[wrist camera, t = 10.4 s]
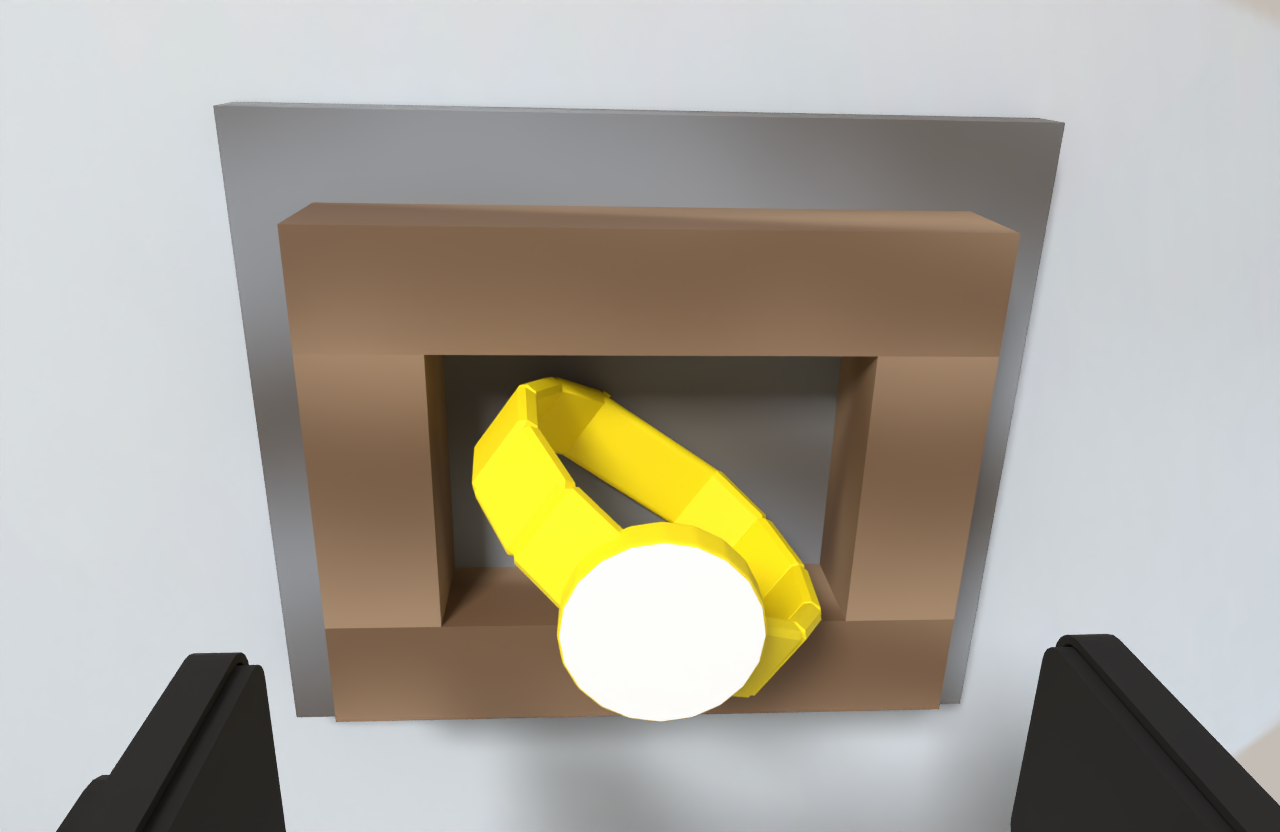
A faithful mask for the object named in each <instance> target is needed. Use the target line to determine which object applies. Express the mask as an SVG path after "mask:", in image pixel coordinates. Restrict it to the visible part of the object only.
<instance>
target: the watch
mask: <svg viewBox="0 0 1280 832" xmlns="http://www.w3.org/2000/svg"><path fill="white" fill-rule="evenodd" d="M610 397H611V395H609V394H608V393H607V392H605V391H603V392H601V391H600V390H597V389H594V388H591V387H587V386H584V385H581V384H578V383H575V382H571V381H568V380H565V379H562V378H558V377H557V378H554V377H546V378H542V379H539V380H536V381H532V382H529V383H525V384H522V385H519V387H518V388H517V389H516V391H515V392H514V393H513V395H512V396H511V398H510V399H509V400H508V402H507V403H506V404H505V406H504V407H503V409H502V410H501V411H500V413H499V414H498V415H497V417H496V418H495V419H494V421H493V422H492V424H491V425H490V426H489V428H488V429H487V430H486V432H485V433H484V434H483V436H482V437H481V439H480V440H479V441H478V443H477V444H476V445H475V447H474V460H473V475H472V485H473V489H474V491H475V496H476V499H477V501H478V503H479V504H480V506H481V508H482V510H483V511H484V513H485V515H486V517H487V519H488V520H489V522H490V524H491V526H492V528H493V529H494V531H495V533H496V535H497V537H498V538H499V540H500V542H501V544H502V546H503V547H504V549H505V551H506V553H507V555H511V556H514V564H515V565H516V566H517V567H518V568H519V569H520V570H521V571H522V572H523V573H524V574H525V575H526V576H527V577H528V578H529V579H530V580H531V581H532V582H533V583H534V584H535V585H536V586H537V587H538V588H539V589H540V590H541V591H542V592H543V593H544V594H545V595H546V596H547V597H548V598H549V599H550V600H551V601H552V602H553V603H554V604H555V605H556V606H557V607H558V608H559V615H558V627H557V640H558V644H559V649H560V654H561V659H562V662H563V664H564V666H565V668H566V669H567V671H568V673H569V674H570V676H571V677H572V679H573V681H574V682H575V684H576V685H577V687H578V688H579V689H580V690H581V691H582V692H584V693H585V694H586V695H587V696H589V697H590V698H591V699H592V700H594V701H595V702H596V703H597V704H599V705H600V706H601V707H603V708H606V709H608V710H611V711H613V712H615V713H618V714H620V715H623V716H625V717H628V718H632V719H640V720H649V721H658V722H663V721H670V720H677V719H684V718H690V717H694V716H696V715H699V714H701V713H703V712H706V711H708V710H710V709H713V708H715V707H717V706H719V705H721V704H723V703H724V702H725V701H726V700H728V699H729V698H730V697H731V696H736V697H748V698H749V697H750V695H752V696H755V695H756V693H757V692H758V691H759V690H760V689H761V688H762V687H763V686H764V685H765V684H766V683H767V682H768V680H769V679H770V678H771V677H772V676H773V675H774V674H775V673H776V672H777V671H778V670H779V668H780V667H781V666H782V665H783V664H784V663H785V662H786V661H787V660H788V659H789V658H790V657H791V655H792V654H793V653H794V652H795V651H796V650H797V649H798V648H799V647H800V646H801V645H802V644H803V642H804V641H805V640H806V639H807V638H808V636H809V635H810V634H811V633H812V631H813V630H814V629H815V627H816V626H817V625H818V623H819V622H820V621H821V607H820V604H819V601H818V599H817V596H816V593H815V590H814V587H813V584H812V582H811V579H810V576H809V573H808V571H807V570H806V569H804V564H803V563H802V561H801V560H800V559H799V557H798V556H797V555H796V553H795V552H794V551H793V549H792V548H791V547H790V545H789V544H788V543H787V541H786V540H785V539H784V537H783V536H782V535H781V533H780V532H779V531H778V529H777V528H776V527H775V525H774V524H773V523H772V521H770V520H768V519H766V515H765V514H764V513H763V512H762V511H761V510H760V509H759V508H758V507H757V506H756V505H755V504H754V503H753V502H752V501H751V500H750V499H749V498H748V497H747V496H746V495H745V494H744V493H743V492H742V491H741V490H740V489H739V488H738V487H737V486H736V485H735V484H734V483H733V482H732V481H731V480H730V479H729V478H728V477H727V476H726V475H725V474H724V473H723V472H721V471H719V470H717V469H716V468H714V467H713V466H711V465H710V464H708V463H707V462H705V461H704V460H702V459H701V458H699V457H698V456H696V455H695V454H693V453H692V452H690V451H689V450H687V449H685V448H684V447H682V446H681V445H679V444H678V443H676V442H675V441H673V440H672V439H670V438H669V437H667V436H666V435H664V434H663V433H661V432H660V431H658V430H657V429H655V428H654V427H652V426H651V425H649V424H648V423H646V422H645V421H643V420H642V419H640V418H639V417H637V416H636V415H634V414H633V413H631V412H630V411H628V410H627V409H625V408H624V407H622V406H621V405H619V404H618V403H616V402H615V401H613V400H612V399H610ZM555 453H556V454H561V455H564V456H565V457H567V458H568V459H570V460H572V461H573V462H575V463H576V464H578V465H579V466H581V467H583V468H584V469H586V470H587V471H589V472H591V473H592V474H594V475H595V476H597V477H598V478H600V479H602V480H603V481H605V482H606V483H608V484H610V485H611V486H613V487H614V488H616V489H617V490H619V491H621V492H622V493H624V494H625V495H627V496H628V497H630V498H632V499H633V500H635V501H636V502H638V503H640V504H641V505H643V506H644V507H646V508H647V509H649V510H651V511H652V512H654V513H655V514H657V515H659V516H660V517H662V518H663V519H665V520H666V521H668V522H656V523H649V524H642V525H635V526H630V527H627V528H625V529H622V528H621V527H620V526H619V525H618V524H617V523H616V522H615V521H614V520H613V519H612V518H611V517H610V516H609V515H608V514H607V513H605V512H604V511H603V510H602V509H601V508H600V507H599V506H598V505H597V504H596V503H595V502H594V501H593V500H592V499H591V498H590V497H589V496H588V495H587V494H586V493H585V492H583V491H582V490H581V489H580V488H579V487H576V485H575V482H574V480H573V479H572V477H571V476H570V474H569V473H568V471H567V470H566V468H565V467H564V465H563V464H562V462H561V461H560V459H559V458H558V456H557V455H556V454H555ZM669 522H670V523H669Z"/></svg>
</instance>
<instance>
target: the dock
mask: <svg viewBox="0 0 1280 832" xmlns="http://www.w3.org/2000/svg"><path fill="white" fill-rule="evenodd" d="M213 107H214V115H215V122H216V129H217V136H218V144H219V151H220V158H221V166H222V173H223V180H224V188H225V195H226V202H227V210H228V217H229V224H230V232H231V239H232V246H233V254H234V261H235V268H236V276H237V283H238V290H239V298H240V305H241V312H242V320H243V327H244V334H245V342H246V349H247V356H248V364H249V371H250V378H251V386H252V393H253V400H254V408H255V415H256V422H257V429H258V437H259V444H260V451H261V459H262V466H263V473H264V481H265V488H266V495H267V503H268V510H269V517H270V525H271V532H272V539H273V547H274V554H275V561H276V569H277V576H278V583H279V591H280V598H281V605H282V613H283V620H284V627H285V635H286V642H287V649H288V657H289V664H290V671H291V679H292V686H293V693H294V701H295V708H296V715H297V717H328V716H335V719H336V722H349V721H396V720H444V719H491V718H539V717H587V716H623V715H620V714H618V713H615V712H613V711H611V710H608V709H606V708H603V707H601V706H600V705H599V704H597V703H596V702H595V701H594V700H592V699H591V698H590V697H589V696H587V695H586V694H585V693H584V692H582V691H581V690H580V689H579V688H578V687H577V685H576V684H575V682H574V681H573V679H572V677H571V676H570V674H569V673H568V671H567V669H566V668H565V666H564V664H563V662H562V659H561V654H560V649H559V644H558V640H557V627H558V615H559V608H558V607H557V606H556V605H555V604H554V603H553V602H552V601H551V600H550V599H549V598H548V597H547V596H546V595H545V594H544V593H543V592H542V591H541V590H540V589H539V588H538V587H537V586H536V585H535V584H534V583H533V582H532V581H531V580H530V579H529V578H528V577H527V576H526V575H525V574H524V573H523V572H522V571H521V570H520V569H519V568H518V567H517V566H516V565H515V564H514V556H511V555H507V553H506V551H505V549H504V547H503V546H502V544H501V542H500V540H499V538H498V537H497V535H496V533H495V531H494V529H493V528H492V526H491V524H490V522H489V520H488V519H487V517H486V515H485V513H484V511H483V510H482V508H481V506H480V504H479V503H478V501H477V499H476V496H475V491H474V489H473V485H472V475H473V460H474V447H475V445H476V444H477V443H478V441H479V440H480V439H481V437H482V436H483V434H484V433H485V432H486V430H487V429H488V428H489V426H490V425H491V424H492V422H493V421H494V419H495V418H496V417H497V415H498V414H499V413H500V411H501V410H502V409H503V407H504V406H505V404H506V403H507V402H508V400H509V399H510V398H511V396H512V395H513V393H514V392H515V391H516V389H517V388H518V387H519V385H522V384H525V383H529V382H532V381H536V380H539V379H542V378H546V377H554V378H557V377H558V378H562V379H565V380H568V381H571V382H575V383H578V384H581V385H584V386H587V387H591V388H594V389H597V390H600V391H601V392H603V391H605V392H607V393H608V394H609V395H611V397H610V399H612V400H613V401H615V402H616V403H618V404H619V405H621V406H622V407H624V408H625V409H627V410H628V411H630V412H631V413H633V414H634V415H636V416H637V417H639V418H640V419H642V420H643V421H645V422H646V423H648V424H649V425H651V426H652V427H654V428H655V429H657V430H658V431H660V432H661V433H663V434H664V435H666V436H667V437H669V438H670V439H672V440H673V441H675V442H676V443H678V444H679V445H681V446H682V447H684V448H685V449H687V450H689V451H690V452H692V453H693V454H695V455H696V456H698V457H699V458H701V459H702V460H704V461H705V462H707V463H708V464H710V465H711V466H713V467H714V468H716V469H717V470H719V471H721V472H723V473H724V474H725V475H726V476H727V477H728V478H729V479H730V480H731V481H732V482H733V483H734V484H735V485H736V486H737V487H738V488H739V489H740V490H741V491H742V492H743V493H744V494H745V495H746V496H747V497H748V498H749V499H750V500H751V501H752V502H753V503H754V504H755V505H756V506H757V507H758V508H759V509H760V510H761V511H762V512H763V513H764V514H765V515H766V519H768V520H770V521H772V523H773V524H774V525H775V527H776V528H777V529H778V531H779V532H780V533H781V535H782V536H783V537H784V539H785V540H786V541H787V543H788V544H789V545H790V547H791V548H792V549H793V551H794V552H795V553H796V555H797V556H798V557H799V559H800V560H801V561H802V563H803V564H804V569H806V570H807V571H808V573H809V576H810V579H811V582H812V584H813V587H814V590H815V593H816V596H817V599H818V601H819V604H820V607H821V621H820V622H819V623H818V625H817V626H816V627H815V629H814V630H813V631H812V633H811V634H810V635H809V636H808V638H807V639H806V640H805V641H804V642H803V644H802V645H801V646H800V647H799V648H798V649H797V650H796V651H795V652H794V653H793V654H792V655H791V657H790V658H789V659H788V660H787V661H786V662H785V663H784V664H783V665H782V666H781V667H780V668H779V670H778V671H777V672H776V673H775V674H774V675H773V676H772V677H771V678H770V679H769V680H768V682H767V683H766V684H765V685H764V686H763V687H762V688H761V689H760V690H759V691H758V692H757V693H756V695H755V696H752V695H750V697H749V698H748V697H736V696H731V697H730V698H729V699H728V700H726V701H725V702H724V703H723V704H721V705H719V706H717V707H715V708H713V709H710V710H708V711H706V712H703V713H701V714H729V713H777V712H825V711H872V710H920V709H939V705H940V704H958V703H960V699H961V694H962V688H963V683H964V677H965V672H966V666H967V661H968V655H969V650H970V644H971V639H972V633H973V628H974V622H975V616H976V611H977V605H978V600H979V594H980V589H981V583H982V578H983V572H984V567H985V561H986V556H987V550H988V545H989V539H990V534H991V528H992V523H993V517H994V512H995V506H996V501H997V495H998V490H999V484H1000V479H1001V473H1002V468H1003V462H1004V457H1005V451H1006V446H1007V440H1008V435H1009V429H1010V424H1011V418H1012V413H1013V407H1014V402H1015V396H1016V390H1017V385H1018V379H1019V374H1020V368H1021V363H1022V357H1023V352H1024V346H1025V341H1026V335H1027V330H1028V324H1029V319H1030V313H1031V308H1032V302H1033V297H1034V291H1035V286H1036V280H1037V275H1038V269H1039V264H1040V258H1041V253H1042V247H1043V242H1044V236H1045V231H1046V225H1047V220H1048V214H1049V209H1050V203H1051V198H1052V192H1053V187H1054V181H1055V176H1056V170H1057V164H1058V159H1059V153H1060V148H1061V142H1062V137H1063V131H1064V126H1065V123H1063V122H1057V121H1052V120H1046V119H1040V118H1003V117H954V116H905V115H856V114H807V113H757V112H708V111H659V110H610V109H560V108H511V107H462V106H413V105H364V104H314V103H265V102H231V103H226V104H220V105H215V106H213ZM555 454H556V453H555ZM556 455H557V456H558V458H559V459H560V461H561V462H562V464H563V465H564V467H565V468H566V470H567V471H568V473H569V474H570V476H571V477H572V479H573V480H574V482H575V485H576V487H579V488H580V489H581V490H582V491H583V492H585V493H586V494H587V495H588V496H589V497H590V498H591V499H592V500H593V501H594V502H595V503H596V504H597V505H598V506H599V507H600V508H601V509H602V510H603V511H604V512H605V513H607V514H608V515H609V516H610V517H611V518H612V519H613V520H614V521H615V522H616V523H617V524H618V525H619V526H620V527H621V528H622V529H625V528H627V527H630V526H635V525H642V524H649V523H656V522H668V521H666V520H665V519H663V518H662V517H660V516H659V515H657V514H655V513H654V512H652V511H651V510H649V509H647V508H646V507H644V506H643V505H641V504H640V503H638V502H636V501H635V500H633V499H632V498H630V497H628V496H627V495H625V494H624V493H622V492H621V491H619V490H617V489H616V488H614V487H613V486H611V485H610V484H608V483H606V482H605V481H603V480H602V479H600V478H598V477H597V476H595V475H594V474H592V473H591V472H589V471H587V470H586V469H584V468H583V467H581V466H579V465H578V464H576V463H575V462H573V461H572V460H570V459H568V458H567V457H565V456H564V455H561V454H556ZM669 523H670V522H669Z"/></svg>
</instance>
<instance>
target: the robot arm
mask: <svg viewBox="0 0 1280 832" xmlns="http://www.w3.org/2000/svg"><path fill="white" fill-rule="evenodd" d="M56 832H286V829H285V821H284V814H283V807H282V799H281V792H280V785H279V777H278V770H277V762H276V755H275V748H274V740H273V733H272V726H271V718H270V711H269V703H268V696H267V689H266V681H265V675H264V671H263V669H262V667H261V666H260V665H249V664H248V660H247V658H246V656H245V655H244V654H243V653H194V654H191V655H189V656H188V657H187V658H186V659H185V660H184V662H183V663H182V665H181V666H180V668H179V669H178V671H177V672H176V674H175V676H174V677H173V679H172V680H171V682H170V683H169V685H168V686H167V688H166V689H165V691H164V692H163V694H162V695H161V697H160V698H159V700H158V702H157V703H156V705H155V706H154V708H153V709H152V711H151V712H150V714H149V715H148V717H147V718H146V720H145V721H144V723H143V725H142V726H141V728H140V729H139V731H138V732H137V734H136V735H135V737H134V738H133V740H132V741H131V743H130V744H129V746H128V748H127V749H126V751H125V752H124V754H123V755H122V757H121V758H120V760H119V761H118V763H117V764H116V766H115V767H114V769H113V771H112V772H111V774H110V775H102V776H100V777H98V778H96V779H94V780H93V781H92V782H91V783H90V784H89V785H88V786H87V788H86V789H85V790H84V791H83V792H82V794H81V795H80V797H79V798H78V800H77V801H76V803H75V804H74V806H73V807H72V809H71V810H70V812H69V813H68V815H67V816H66V818H65V819H64V821H63V822H62V824H61V825H60V827H59V828H58V830H57V831H56ZM1011 832H1280V806H1279V805H1278V804H1277V802H1276V801H1275V800H1274V799H1273V798H1272V797H1271V796H1270V795H1269V794H1268V793H1267V792H1266V791H1265V790H1264V789H1263V788H1262V787H1261V786H1260V785H1259V784H1258V783H1257V782H1256V781H1255V780H1254V779H1253V778H1252V776H1250V774H1249V773H1247V771H1246V770H1245V769H1244V768H1243V767H1242V766H1241V765H1240V764H1239V763H1238V762H1237V761H1236V760H1235V759H1234V758H1233V757H1232V756H1231V755H1230V754H1229V753H1228V752H1227V751H1226V750H1225V748H1224V747H1223V746H1222V745H1221V744H1220V743H1219V742H1218V741H1217V740H1216V739H1215V738H1214V737H1213V736H1212V735H1211V734H1210V733H1209V732H1208V731H1207V730H1206V729H1205V728H1204V727H1203V726H1202V725H1201V724H1200V723H1199V722H1198V720H1197V719H1196V718H1195V717H1194V716H1193V715H1192V714H1191V713H1190V712H1189V711H1188V710H1187V709H1186V708H1185V707H1184V706H1183V705H1182V704H1181V703H1180V702H1179V701H1178V700H1177V699H1176V698H1175V697H1174V696H1173V695H1172V694H1171V692H1170V691H1169V690H1168V689H1167V688H1166V687H1165V686H1164V685H1163V684H1162V683H1161V682H1160V681H1159V680H1158V679H1157V678H1156V677H1155V676H1154V675H1153V674H1152V673H1151V672H1150V671H1149V670H1148V669H1147V668H1146V667H1145V666H1144V664H1143V663H1142V662H1141V661H1140V660H1139V659H1138V658H1137V657H1136V656H1135V655H1134V654H1133V653H1132V652H1131V651H1130V650H1129V649H1128V648H1127V647H1126V646H1125V645H1124V644H1123V643H1122V642H1121V641H1120V640H1119V639H1118V638H1117V637H1115V636H1114V635H1110V634H1088V635H1065V636H1063V637H1061V638H1060V639H1059V641H1058V642H1057V644H1056V647H1051V648H1048V649H1047V650H1046V652H1045V653H1044V656H1043V660H1042V665H1041V670H1040V675H1039V680H1038V685H1037V690H1036V695H1035V700H1034V705H1033V710H1032V715H1031V721H1030V726H1029V731H1028V736H1027V741H1026V746H1025V751H1024V756H1023V761H1022V766H1021V771H1020V776H1019V782H1018V787H1017V792H1016V797H1015V802H1014V807H1013V812H1012V817H1011Z"/></svg>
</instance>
